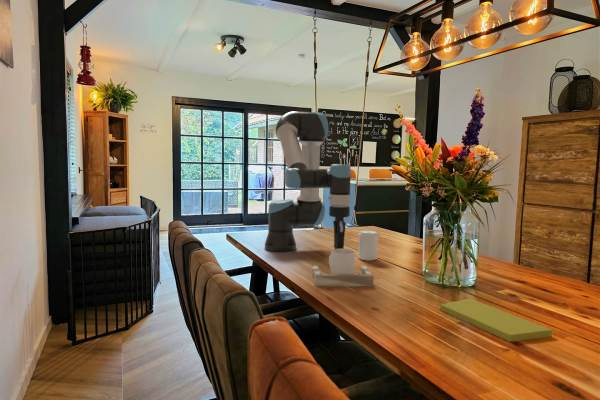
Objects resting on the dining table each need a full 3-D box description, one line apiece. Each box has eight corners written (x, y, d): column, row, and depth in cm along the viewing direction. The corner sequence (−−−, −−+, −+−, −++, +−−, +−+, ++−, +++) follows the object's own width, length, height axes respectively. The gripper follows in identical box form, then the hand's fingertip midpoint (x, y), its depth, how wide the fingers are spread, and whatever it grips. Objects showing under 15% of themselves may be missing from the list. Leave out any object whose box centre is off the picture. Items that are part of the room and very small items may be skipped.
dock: (312, 275, 143) (312, 265, 143) (365, 275, 144) (365, 265, 144) (315, 286, 130) (315, 276, 130) (373, 286, 131) (373, 276, 131)
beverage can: (356, 260, 166) (357, 232, 165) (360, 255, 173) (361, 229, 172) (375, 262, 163) (376, 234, 162) (378, 257, 170) (379, 230, 169)
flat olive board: (440, 311, 111) (518, 348, 89) (440, 304, 110) (519, 339, 89) (470, 305, 116) (551, 338, 94) (470, 298, 116) (552, 329, 94)
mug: (320, 275, 143) (320, 248, 142) (338, 272, 147) (338, 245, 146) (340, 284, 133) (341, 254, 132) (359, 280, 137) (359, 252, 136)
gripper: (327, 203, 150) (326, 263, 152) (331, 207, 137) (330, 272, 139) (346, 203, 150) (345, 263, 153) (352, 207, 137) (351, 272, 140)
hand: (338, 267), depth 146 cm, fingers closed
